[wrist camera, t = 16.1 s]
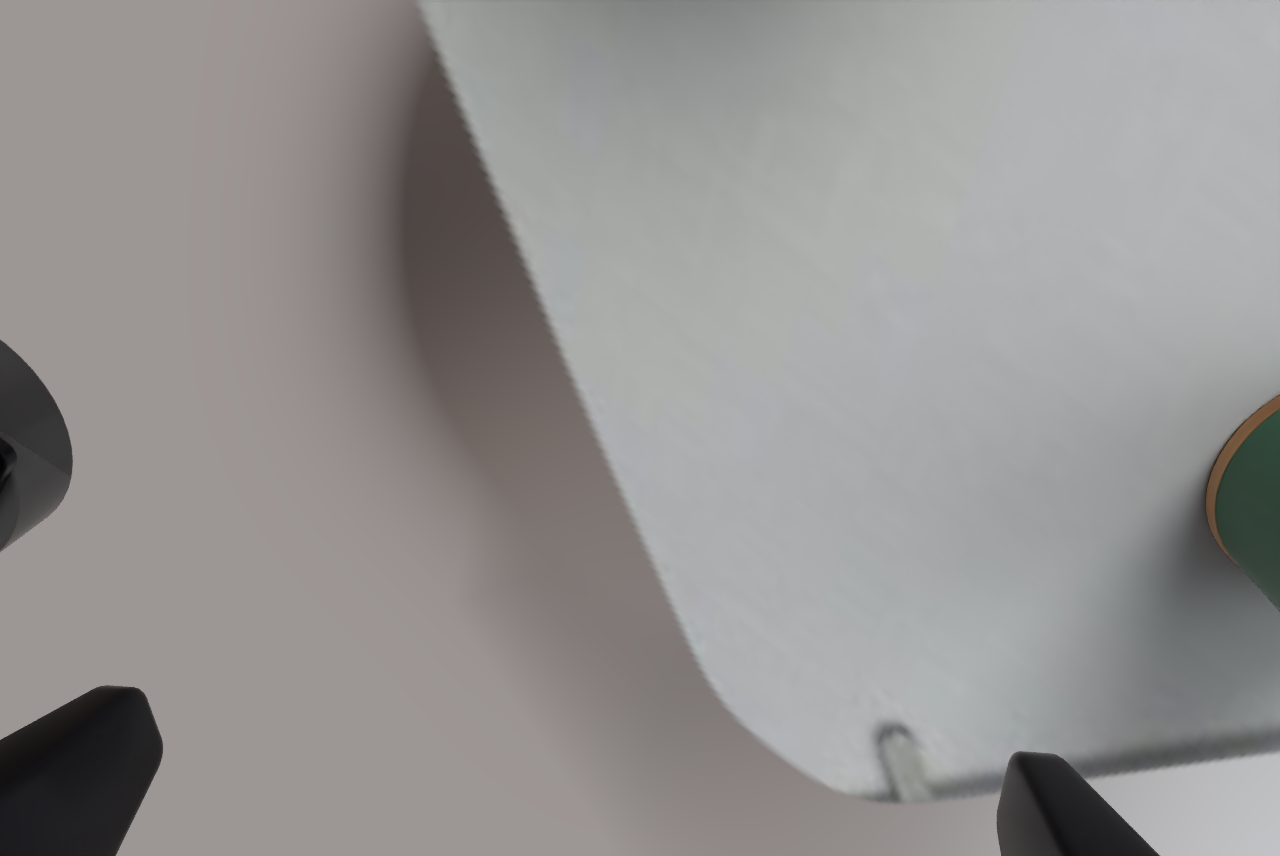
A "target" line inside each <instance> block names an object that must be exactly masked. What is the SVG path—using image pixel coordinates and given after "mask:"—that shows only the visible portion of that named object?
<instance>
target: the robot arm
mask: <svg viewBox="0 0 1280 856" xmlns="http://www.w3.org/2000/svg"><path fill="white" fill-rule="evenodd" d="M16 463H17V455H16V452H15V450H14V449H13V447H12V446H11V445H10V444H9V443H7V442H6V441H5V440H3V439H2V438H0V493H1V491H2V489H3V488H4V486H5V484H6V482H7V480H8V478H9V476H10V474H11V473H12V471H13V469H14V467H15V465H16ZM162 754H163V743H162V738H161V735H160V733H159V730H158V727H157V725H156V722H155V719H154V716H153V714H152V711H151V708H150V706H149V703H148V700H147V698H146V696H145V694H144V693H143V692H142V691H141V690H140V689H138V688H135V687H123V686H122V687H121V686H108V685H107V686H100V687H97V688H95V689H93V690H91V691H89V692H87V693H85V694H84V695H82V696H80V697H78V698H77V699H74V700H73V701H71V702H69V703H67V704H65V705H63V706H62V707H60V708H58V709H56V710H54V711H52V712H51V713H49V714H47V715H45V716H43V717H42V718H40V719H38V720H36V721H34V722H32V723H31V724H29V725H27V726H25V727H23V728H21V729H20V730H18V731H16V732H14V733H12V734H10V735H9V736H7V737H5V738H3V739H1V740H0V856H116V854H117V852H118V850H119V848H120V846H121V844H122V842H123V840H124V837H125V835H126V833H127V831H128V829H129V827H130V825H131V823H132V821H133V819H134V817H135V815H136V813H137V811H138V809H139V807H140V805H141V803H142V800H143V799H144V796H145V794H146V792H147V790H148V788H149V786H150V784H151V782H152V780H153V778H154V776H155V774H156V772H157V770H158V768H159V765H160V762H161V758H162ZM997 833H998V839H999V845H1000V851H1001V856H1160V855H1159V854H1158V853H1157V852H1156V851H1154V849H1153V848H1151V847H1150V845H1149V844H1148V843H1147V842H1146V841H1145V840H1144V839H1143V838H1142V837H1141V836H1140V835H1139V834H1138V833H1137V832H1136V831H1135V830H1133V828H1132V827H1131V826H1130V825H1129V824H1128V823H1127V822H1126V821H1125V820H1124V819H1123V818H1122V817H1121V816H1120V815H1119V814H1118V813H1117V812H1116V811H1115V810H1114V809H1113V808H1112V807H1111V806H1110V805H1109V804H1108V803H1107V802H1106V801H1105V800H1104V799H1103V798H1102V797H1101V796H1100V795H1099V794H1098V793H1097V792H1096V791H1095V790H1094V789H1093V788H1092V787H1091V786H1090V785H1089V784H1088V783H1087V782H1086V781H1085V780H1084V779H1083V778H1082V777H1081V776H1080V775H1079V774H1078V773H1077V772H1076V771H1075V770H1074V769H1073V768H1072V767H1071V766H1070V765H1069V764H1068V763H1067V762H1066V761H1065V760H1064V759H1062V758H1061V757H1059V756H1058V755H1055V754H1050V753H1036V752H1022V751H1020V752H1016V753H1014V754H1013V755H1012V756H1011V758H1010V760H1009V763H1008V767H1007V771H1006V775H1005V780H1004V784H1003V788H1002V792H1001V797H1000V801H999V805H998V810H997Z"/></svg>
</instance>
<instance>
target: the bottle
mask: <svg viewBox="0 0 1280 856" xmlns="http://www.w3.org/2000/svg"><path fill="white" fill-rule="evenodd" d="M1216 520H1217V527H1218V532H1219V535H1220V538H1221V540H1222V543H1223V545H1224V547H1225V548H1226V550H1227V552H1228V554H1229V555H1230V556H1231V557H1232V558H1233V560H1234V561H1235V562H1236V563H1237V564H1238V566H1239V567H1240V568H1241V569H1242V570H1243V571H1244V572H1245V573H1246V574H1247V576H1248V577H1249V578H1250V579H1251V580H1252V581H1253V582H1254V583H1255V584H1256V585H1257V587H1258V588H1259V589H1260V590H1261V591H1262V592H1263V593H1264V594H1265V595H1266V597H1267V598H1268V599H1269V600H1270V601H1271V602H1272V603H1273V604H1274V605H1275V607H1276V608H1277V609H1278V610H1279V611H1280V409H1279V410H1278V411H1277V412H1276V413H1274V414H1273V415H1272V416H1270V417H1269V418H1268V419H1266V420H1265V421H1264V422H1263V423H1262V424H1261V425H1260V426H1259V427H1258V428H1257V429H1256V430H1255V431H1253V432H1252V434H1251V435H1250V436H1249V437H1248V438H1247V439H1246V440H1245V442H1244V443H1243V444H1242V445H1241V446H1240V448H1239V449H1238V451H1237V452H1236V454H1235V455H1234V457H1233V458H1232V460H1231V461H1230V463H1229V465H1228V467H1227V469H1226V471H1225V473H1224V475H1223V478H1222V481H1221V484H1220V487H1219V491H1218V496H1217V501H1216Z"/></svg>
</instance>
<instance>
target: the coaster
mask: <svg viewBox="0 0 1280 856" xmlns="http://www.w3.org/2000/svg"><path fill="white" fill-rule="evenodd" d="M1279 409H1280V395H1279V396H1278V397H1276V398H1275V399H1273V400H1272V401H1270V402H1269V403H1267V404H1266V405H1264V406H1263V407H1262V408H1261V409H1260V410H1258V411H1257V412H1256V413H1255V414H1253V415H1252V416H1251V417H1250V418H1249V419H1248V420H1247V421H1246V422H1245V423H1244V424H1243V425H1242V426H1241V427H1240V428H1239V429H1238V430H1237V431H1236V433H1235V434H1234V435H1233V436H1232V438H1231V439H1230V440H1229V441H1228V443H1227V444H1226V446H1225V447H1224V449H1223V450H1222V452H1221V454H1220V455H1219V457H1218V459H1217V461H1216V463H1215V466H1214V468H1213V470H1212V473H1211V476H1210V479H1209V483H1208V488H1207V495H1206V513H1207V518H1208V523H1209V526H1210V529H1211V531H1212V534H1213V536H1214V538H1215V540H1216V541H1217V543H1218V544H1219V546H1220V548H1221V549H1222V550H1223V551H1224V552H1225V553H1226V554H1227V555H1228V556H1229V558H1230V559H1231V560H1232V561H1233V562H1234V563H1235V564H1236V565H1237V566H1238V564H1237V563H1236V562H1235V561H1234V560H1233V558H1232V557H1231V556H1230V555H1229V554H1228V552H1227V550H1226V548H1225V547H1224V545H1223V543H1222V540H1221V538H1220V535H1219V532H1218V527H1217V520H1216V501H1217V496H1218V491H1219V487H1220V484H1221V481H1222V478H1223V475H1224V473H1225V471H1226V469H1227V467H1228V465H1229V463H1230V461H1231V460H1232V458H1233V457H1234V455H1235V454H1236V452H1237V451H1238V449H1239V448H1240V446H1241V445H1242V444H1243V443H1244V442H1245V440H1246V439H1247V438H1248V437H1249V436H1250V435H1251V434H1252V432H1253V431H1255V430H1256V429H1257V428H1258V427H1259V426H1260V425H1261V424H1262V423H1263V422H1264V421H1265V420H1266V419H1268V418H1269V417H1270V416H1272V415H1273V414H1274V413H1276V412H1277V411H1278V410H1279Z"/></svg>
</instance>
